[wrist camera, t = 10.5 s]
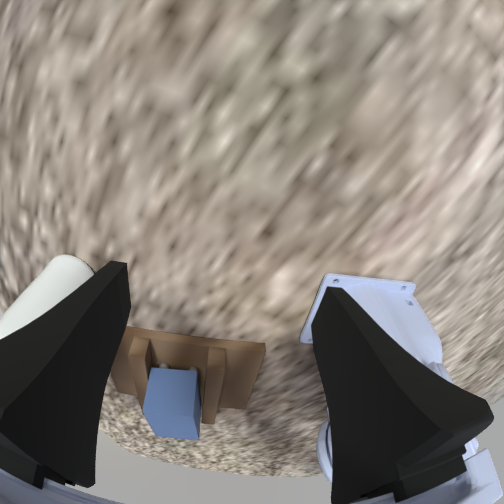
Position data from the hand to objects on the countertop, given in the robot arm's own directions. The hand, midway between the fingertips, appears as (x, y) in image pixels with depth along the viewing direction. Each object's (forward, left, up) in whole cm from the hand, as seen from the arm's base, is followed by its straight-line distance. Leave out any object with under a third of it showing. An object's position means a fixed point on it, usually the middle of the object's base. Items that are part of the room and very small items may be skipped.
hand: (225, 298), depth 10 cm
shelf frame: (+3, +20, -10) cm, 23 cm away
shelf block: (+3, +20, -8) cm, 22 cm away
